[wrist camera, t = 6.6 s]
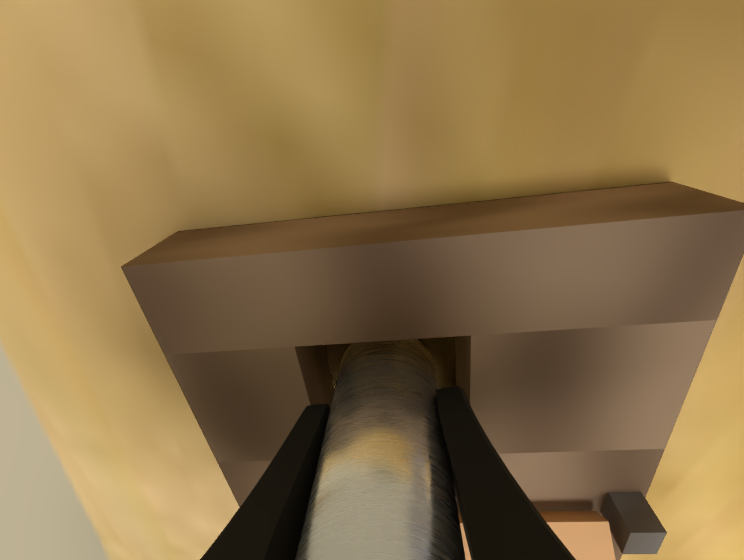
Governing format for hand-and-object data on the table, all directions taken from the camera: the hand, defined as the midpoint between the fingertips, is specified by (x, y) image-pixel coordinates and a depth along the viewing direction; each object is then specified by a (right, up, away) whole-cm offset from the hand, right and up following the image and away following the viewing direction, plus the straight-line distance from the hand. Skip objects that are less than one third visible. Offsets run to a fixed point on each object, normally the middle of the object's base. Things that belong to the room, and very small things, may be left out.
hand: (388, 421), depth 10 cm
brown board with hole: (+2, -1, +4) cm, 4 cm away
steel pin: (0, +1, +2) cm, 2 cm away
